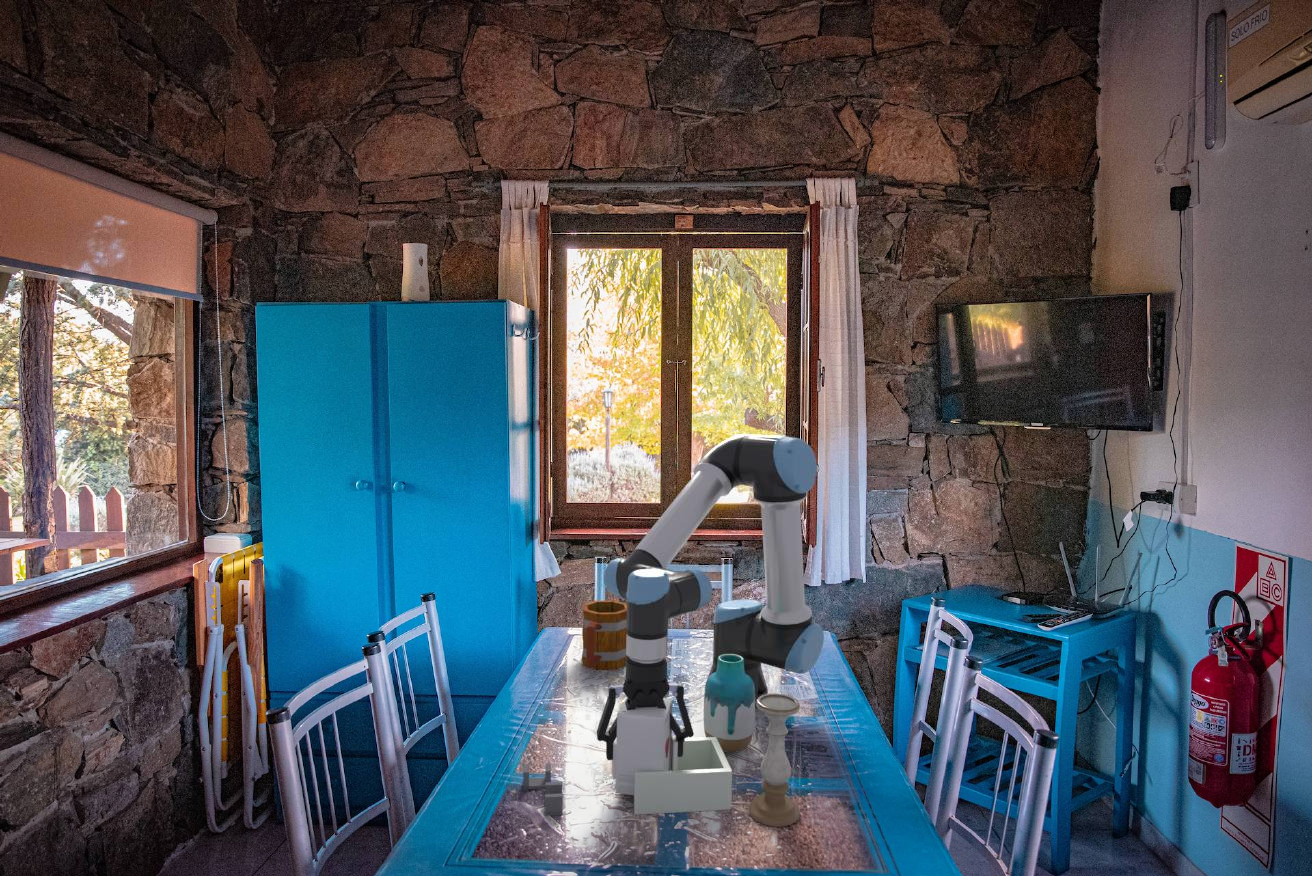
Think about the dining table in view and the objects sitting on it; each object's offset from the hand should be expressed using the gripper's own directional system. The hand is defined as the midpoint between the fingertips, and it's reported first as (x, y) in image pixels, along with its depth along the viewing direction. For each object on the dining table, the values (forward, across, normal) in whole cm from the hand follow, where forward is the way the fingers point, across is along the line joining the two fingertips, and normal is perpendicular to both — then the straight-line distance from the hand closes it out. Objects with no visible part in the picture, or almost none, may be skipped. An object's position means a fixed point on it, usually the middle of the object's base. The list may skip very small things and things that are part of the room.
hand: (644, 774), depth 142 cm
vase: (+4, -19, -16) cm, 25 cm away
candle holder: (+4, -22, +9) cm, 24 cm away
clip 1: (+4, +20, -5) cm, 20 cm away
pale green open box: (+4, -6, 0) cm, 7 cm away
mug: (+4, +4, -65) cm, 65 cm away
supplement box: (+2, 0, 0) cm, 2 cm away
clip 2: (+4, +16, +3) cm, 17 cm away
